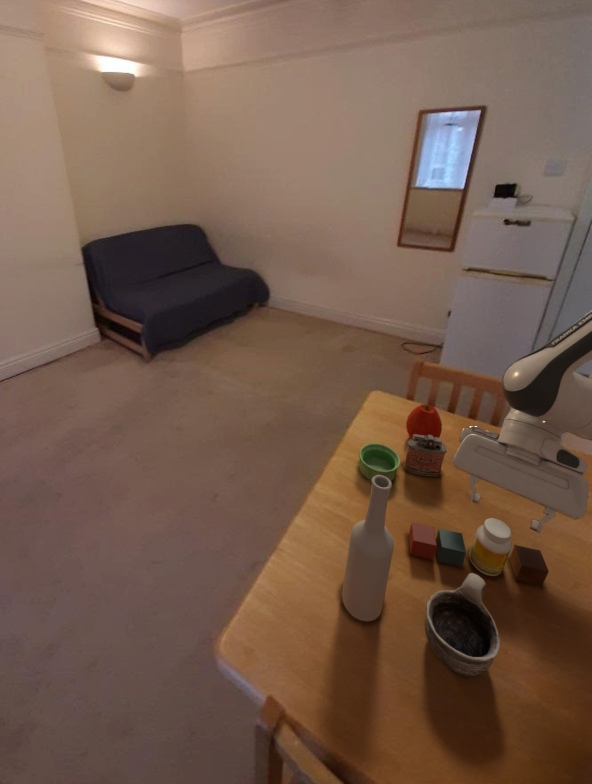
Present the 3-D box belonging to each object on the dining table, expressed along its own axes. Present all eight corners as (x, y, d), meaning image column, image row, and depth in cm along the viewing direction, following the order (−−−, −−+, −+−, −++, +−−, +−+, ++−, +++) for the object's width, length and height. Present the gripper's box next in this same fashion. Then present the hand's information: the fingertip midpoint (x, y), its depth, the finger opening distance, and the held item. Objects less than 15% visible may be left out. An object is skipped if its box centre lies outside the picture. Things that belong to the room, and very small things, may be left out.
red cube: (430, 541, 79) (434, 527, 77) (433, 560, 75) (437, 545, 74) (408, 536, 80) (411, 522, 78) (410, 554, 76) (413, 540, 75)
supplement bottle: (467, 545, 78) (478, 510, 74) (499, 555, 76) (513, 519, 72) (469, 570, 73) (482, 535, 69) (504, 582, 71) (518, 546, 67)
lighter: (439, 467, 95) (447, 434, 91) (441, 478, 92) (450, 444, 88) (402, 461, 97) (408, 429, 93) (404, 472, 94) (410, 438, 90)
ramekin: (356, 481, 92) (358, 467, 91) (357, 453, 100) (359, 440, 98) (398, 489, 90) (401, 475, 88) (396, 460, 98) (398, 446, 96)
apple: (414, 424, 109) (420, 391, 105) (444, 440, 103) (452, 406, 99) (397, 438, 105) (403, 404, 100) (429, 455, 99) (436, 420, 94)
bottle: (377, 629, 65) (402, 508, 53) (337, 608, 68) (352, 489, 56) (385, 592, 70) (409, 473, 58) (347, 574, 73) (363, 458, 61)
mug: (413, 660, 61) (424, 621, 57) (427, 587, 71) (437, 550, 67) (487, 702, 57) (505, 664, 52) (491, 618, 66) (506, 580, 62)
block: (457, 547, 77) (461, 533, 76) (461, 566, 74) (466, 552, 72) (434, 542, 78) (438, 528, 77) (437, 561, 75) (441, 547, 73)
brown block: (534, 564, 74) (540, 550, 72) (542, 586, 70) (549, 571, 69) (509, 558, 75) (514, 544, 73) (515, 579, 71) (521, 565, 70)
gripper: (464, 418, 79) (440, 485, 77) (600, 468, 67) (576, 550, 64) (465, 425, 84) (443, 488, 82) (592, 472, 72) (570, 548, 69)
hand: (503, 516), depth 73 cm, fingers open, 8 cm apart
